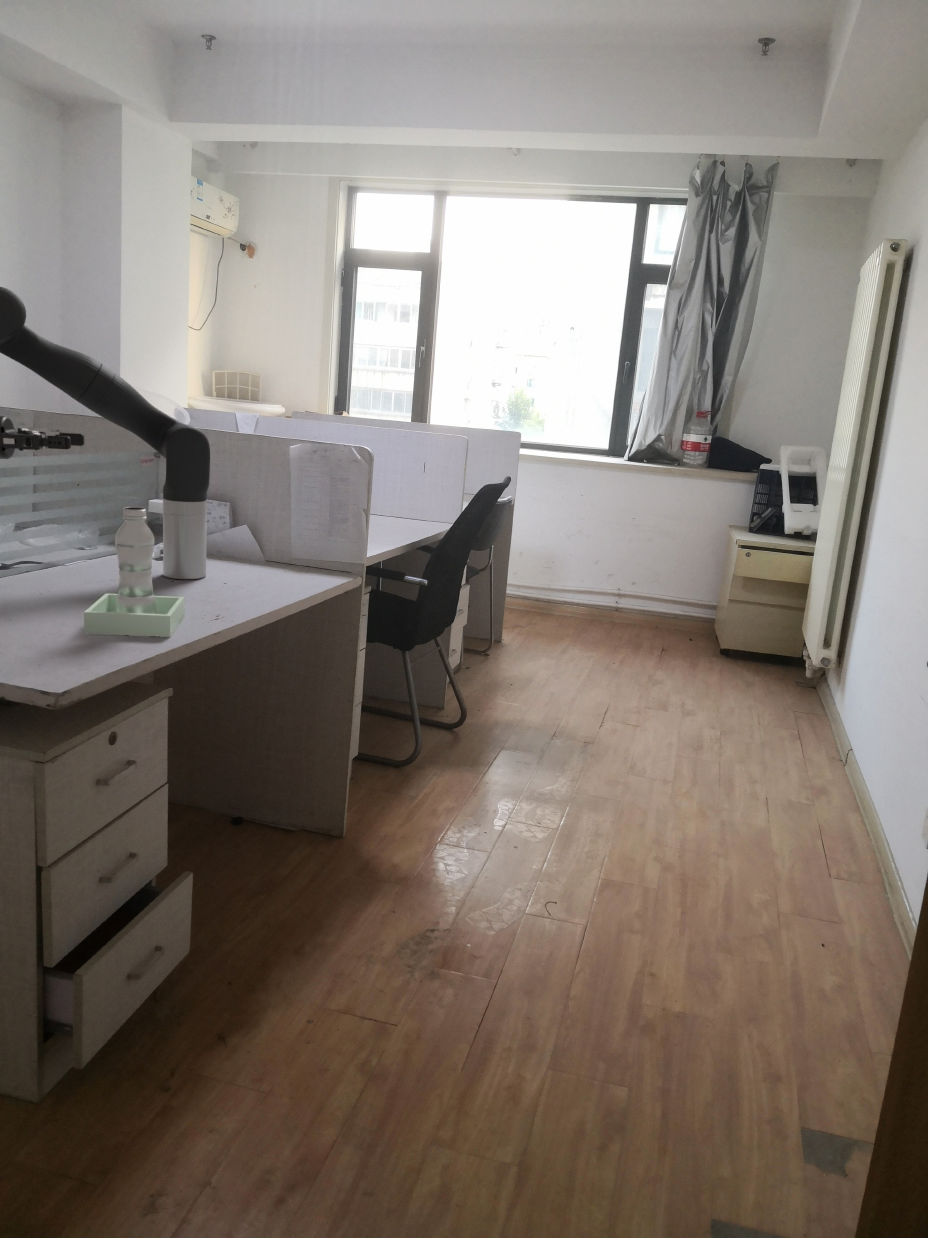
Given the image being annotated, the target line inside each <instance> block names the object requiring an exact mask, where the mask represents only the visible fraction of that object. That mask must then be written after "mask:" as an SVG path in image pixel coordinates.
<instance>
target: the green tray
mask: <svg viewBox="0 0 928 1238" xmlns="http://www.w3.org/2000/svg"><path fill="white" fill-rule="evenodd" d="M117 597H118V593H107V592H106V593H104V594H103V595H102V596H101V597H100V598H99V599H97V600H96V601H95V602H93V604H92V605H91V606H89V607H88V608H87V609H86V610H85V611H83V623H84V624H83V629H84V635H99V634H100V635H99V636H101V635H105V636H107V635H108V636H124V635H129V636H130V637H149V636H156V637H155V638H171V637H172V635H173V634H174V633H175V631H176V630H177V629H176V628H178V627H179V626H178V625H181V623H182V621H183V620H184V618H185V614H186V613H185V612H186V611H185V610H186V609H185V603H186V602H185V598H186V597H185V596H167V595H154V597H155V603H156V609H155V614H142V613H119V612H117V609H116V603H117ZM129 636H128V637H129ZM157 636H158V637H157ZM159 636H160V637H159Z"/></svg>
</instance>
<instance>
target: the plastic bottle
mask: <svg viewBox="0 0 928 1238" xmlns="http://www.w3.org/2000/svg"><path fill="white" fill-rule="evenodd" d="M147 518H148V516H147V509H146V508H145V507H141V506H127V507H123V515H122V519H123V520H124V522H123V523H122V524H121V526H120V527H119V528H118V530H117V531H116V532H115V537H114V544H115V551H116V555H117V556H116V557H117V562H118V569H119V570H118V575H119V578H118V580H119V581H118V589H117V591H118V592H117V594H118V597H117V603H116V609H117V612H119V613H142V614H155V609H156V603H155V597H154V596H155V595H154V590H153V589H154V587H153V578H152V577H153V576H152V575H153V574H152V571H153V570H152V569H153V555H154V549H155V536H154V533H153V531H152V530H151V528H150V527H149V526H148V524H146V520H147Z"/></svg>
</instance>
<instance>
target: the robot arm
mask: <svg viewBox="0 0 928 1238" xmlns="http://www.w3.org/2000/svg"><path fill="white" fill-rule="evenodd" d="M26 319H27V311H26V306H25V303H24V302H23V301H22V299H21V298H20V296H19V295H18V294H16V292H14V291H12V289H9V288H6V287H3V286H0V354H2V355H4V356H6V357H7V358H9V359H11V360H13V361H15V362H17V363H19V364H20V365H22V366H24V367H25V368H27V369H29V370H30V371H32V372H33V373H35V374H36V375H38V376H39V377H41V379H44V380H45V381H47V382H48V383H49V384H51V385H52V386H54V387H56V388H57V389H59V390H61V391H62V392H63V393H65V394H67V395H68V397H70V398H72V399H73V400H75V401H76V402H78V403H79V404H81V405H82V406H84V407H86V408H87V410H90V412H91V411H92V412H93V413H95V414H97V415H98V416H100V417H101V418H104V419H105V420H107V421H109V422H111V423H113V424H114V425H116V426H119V427H121V428H122V429H125V430H127V431H128V432H131V433H132V434H134V435H135V436H136V437H138V438H140V439H141V440H142V441H144V442H145V443H146V444H147V445H149V446H150V447H151V448H153V450H155V451H156V452H158V454H160V455H161V456H162V457H163V458H164V459H165V480H164V485H163V487H162V540H163V541H162V551H163V552H162V554H163V555H162V564H163V565H162V566H163V567H162V570H163V571H162V572H163V576H164V577H166V578H169V579H177V580H195V579H202V578H205V577H206V576H207V530H208V529H207V525H208V523H207V522H208V521H207V519H208V516H207V513H208V512H207V510H208V509H207V503H208V500H207V498H208V490H209V486H210V478H211V477H210V472H211V445H210V442H209V440H208V437H207V436H206V434H205V433H204V432H203V431H202V430H201V429H199V428H197V427H194V426H192V425H188V424H186V423H183V422H182V421H179V420H177V419H176V418H173V417H172V416H170V415H169V414H167V413H165V412H164V411H162V410H160V409H159V408H157V407H155V406H154V405H152V404H151V403H150V401H148V399H146V398H145V397H144V396H143V395H142V394H140V392H139V391H137V390H136V389H135V388H134V387H133V386H132V385H131V384H130V383H129V382H128V381H126V379H124V378H122V377H121V376H120V375H119V374H117V373H116V372H114V371H113V370H112V369H110V368H109V367H108V366H106V365H105V364H103V363H102V362H100V361H98V360H97V359H96V358H94V357H92V356H90V355H87V354H85V353H82V352H80V351H77V350H74V349H71V348H68V347H66V346H63V345H59V344H57V343H54V342H53V341H50V340H48V339H46V338H45V337H43V336H41V335H40V334H38V333H37V332H35V331H34V330H33V329H32V328H31V327H28V326H27V325H26V324H25V323H26ZM16 429H17V430H16ZM16 429H15V427H14V422H13V421H12V420H11V418H9V417H8V416H6V415H5V416H4V415H0V460H9V459H11V458H12V457H13V455H14V453H15V451H16V449H17V450H18V451H20V452H24V451H25V452H28V451H32V452H33V451H37V452H38V451H40V450H42V451H46V450H47V449H53V450H71V448H72V446H73V447H76V446H77V447H82V446H84V445H85V435H84V434H83V433H74V432H63V431H62V430H59V429H57V430H50V429H49V428H34V427H32V426H31V427H30V426H22V427H17V428H16Z"/></svg>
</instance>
